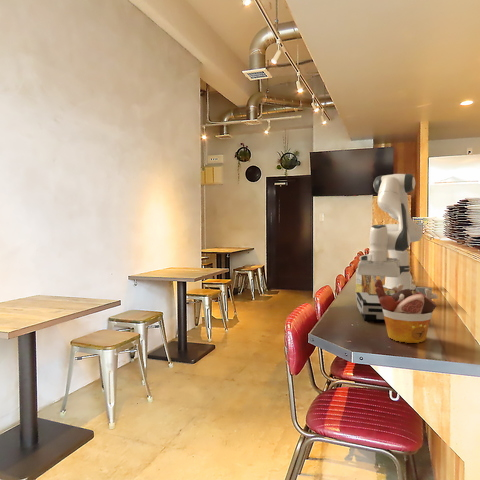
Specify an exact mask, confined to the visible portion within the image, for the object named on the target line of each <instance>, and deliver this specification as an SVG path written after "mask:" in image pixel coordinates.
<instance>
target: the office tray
mask: <svg viewBox="0 0 480 480" xmlns="http://www.w3.org/2000/svg"><path fill="white" fill-rule="evenodd" d="M391 295H393V293H391ZM391 295H388V296H391ZM355 300H356V307H357V308H358V309H357V310H358V311H359V313H360V315H361V314H362V315H361V316H362V317H361V318H362V319H363V321H364V322H370V321H378V323H380V322H381V320H385V318H384V313H383V309H382V306H381V304H380V303H379V299H378V296H377V294H375V293H371V294H368V293H365V292H356V291H355Z"/></svg>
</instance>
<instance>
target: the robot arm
mask: <svg viewBox="0 0 480 480" xmlns="http://www.w3.org/2000/svg"><path fill="white" fill-rule="evenodd" d="M372 185H373V190H374V192H375V193H376V194H377V199H376V200H377V203H376V204H377V206H378V208H379V209H380V210H381V211H383V212H385V213H387V214H388V216H389V217H390V218H392V219H393V220H396V221H397V222H398V223H387V224H373V225H372V226H370V230H369V236H368V237H369V239H368V244H369V250H368V253H367V254H366V253H365V254H364V255H360V256H359V258H358V259H359V262H358V263H357V268H356V269H357V273H358V274H359V275H370V276H371V279H373V281H374V284H375V283H376V281H377V280H378V279H377V277H379V279H380V280H381V281H382V282H383V281H384V279H385V281H384V284H383V288H384V289H387V290H392V289H391V288H392V287H394V286H396V287H397V288H398V285H399V284H403V285H404V286H403V288H402V290H405V289H410V291H414V290H415V291H416V287H417V285H416V284H414V282H413V277H412V274H411V273H410V271H411V267H410V266H411V265H410V254H409V252H408V249H409V248H410V245H411V243H415V242H419V241H420V240H421V239H422V238H423V233H424V231H423V229H422V227H421V226H420V225H419V224H418V223H416V222H415V220H414V219H412V216H411V214H410V210H409V209H410V208H409V199H408V198H409V197H408V194H410V193H411V192H413V191H414V190H415V187H416V179H415V176H414V175H413V174H411V173H393V174H386V175H379V176H376V177H375V179H374V181H373V184H372Z"/></svg>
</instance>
